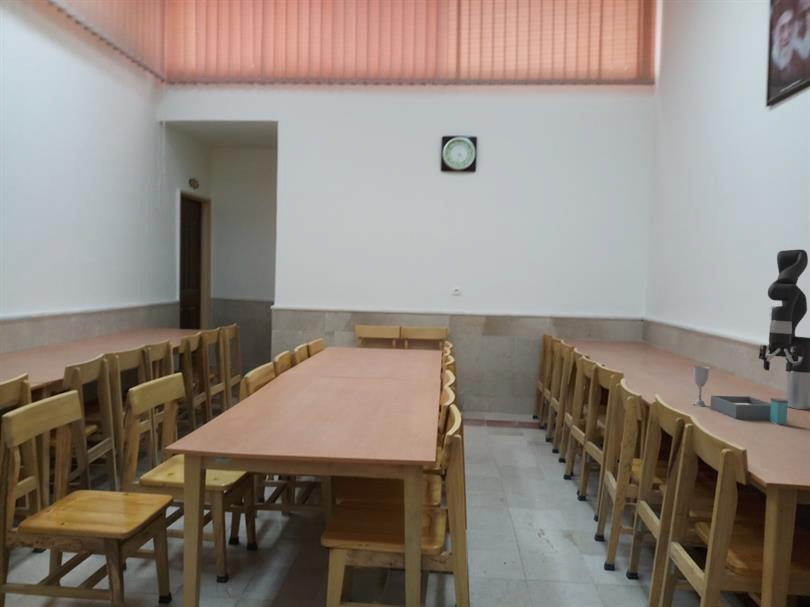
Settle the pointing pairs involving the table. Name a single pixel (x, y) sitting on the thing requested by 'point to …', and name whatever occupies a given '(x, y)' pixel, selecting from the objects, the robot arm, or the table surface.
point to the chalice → (700, 381)
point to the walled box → (741, 407)
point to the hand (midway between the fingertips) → (777, 370)
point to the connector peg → (778, 411)
